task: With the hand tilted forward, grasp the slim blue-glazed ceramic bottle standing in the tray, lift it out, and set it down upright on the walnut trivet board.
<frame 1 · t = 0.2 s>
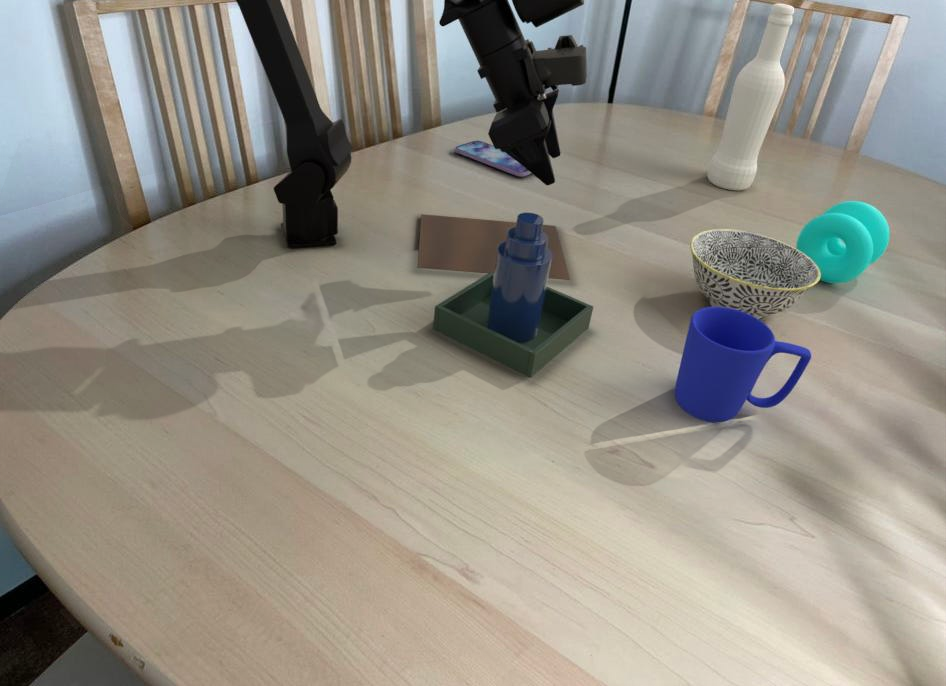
hand: (554, 169, 90), 15 cm above the table, tool tilted 35°, fingers open, 9 cm apart
mug: (722, 411, 79), on the table
bottle: (727, 183, 135), on the table
bowl: (736, 308, 97), on the table
tray: (511, 332, 87), on the table
turquoise yo-yo: (828, 273, 109), on the table
blue bottle: (512, 328, 86), point 1 cm above the table, touching tray
smartphone: (497, 161, 131), on the table
trivet: (491, 248, 103), on the table
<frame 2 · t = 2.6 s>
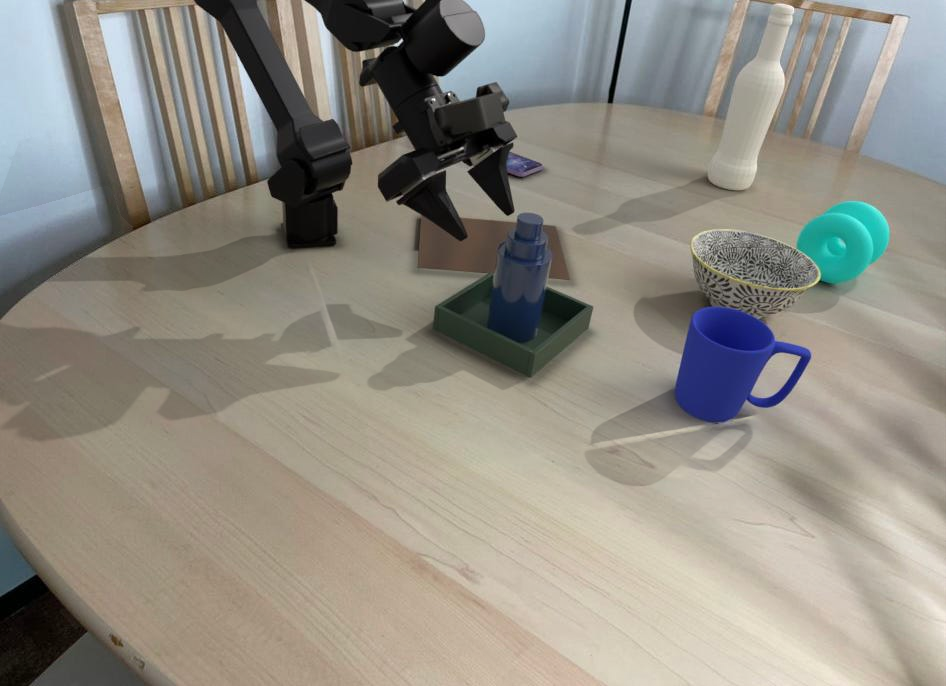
hand: (488, 226, 82), 12 cm above the table, tool tilted 45°, fingers open, 9 cm apart
nothing on the table moved.
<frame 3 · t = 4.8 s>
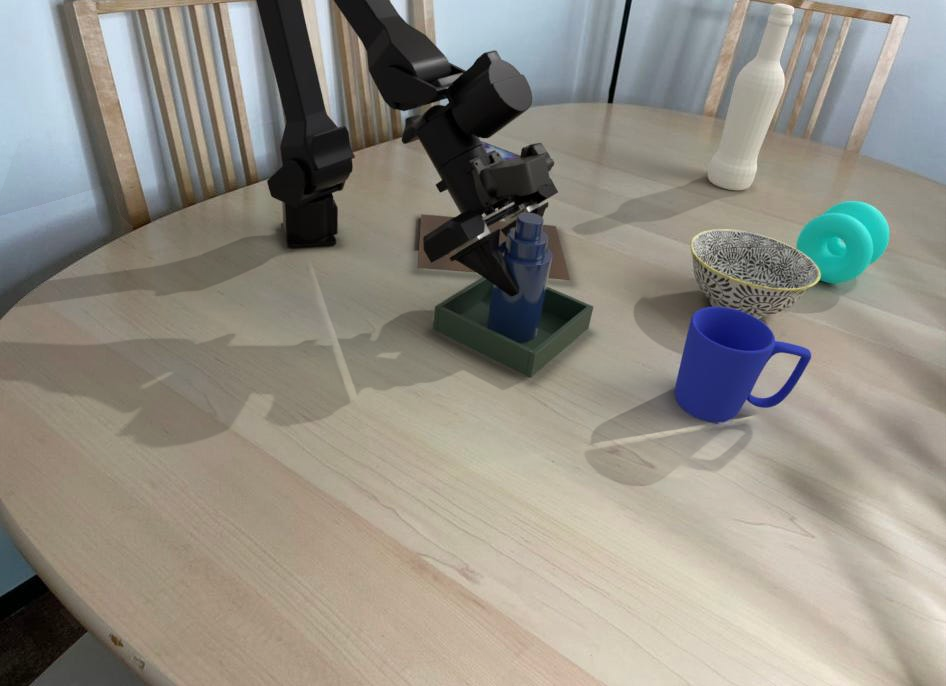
hand: (530, 284, 82), 7 cm above the table, tool tilted 45°, fingers closed on blue bottle, 6 cm apart
blue bottle: (512, 328, 86), point 1 cm above the table, touching tray, gripper
everything else where it was.
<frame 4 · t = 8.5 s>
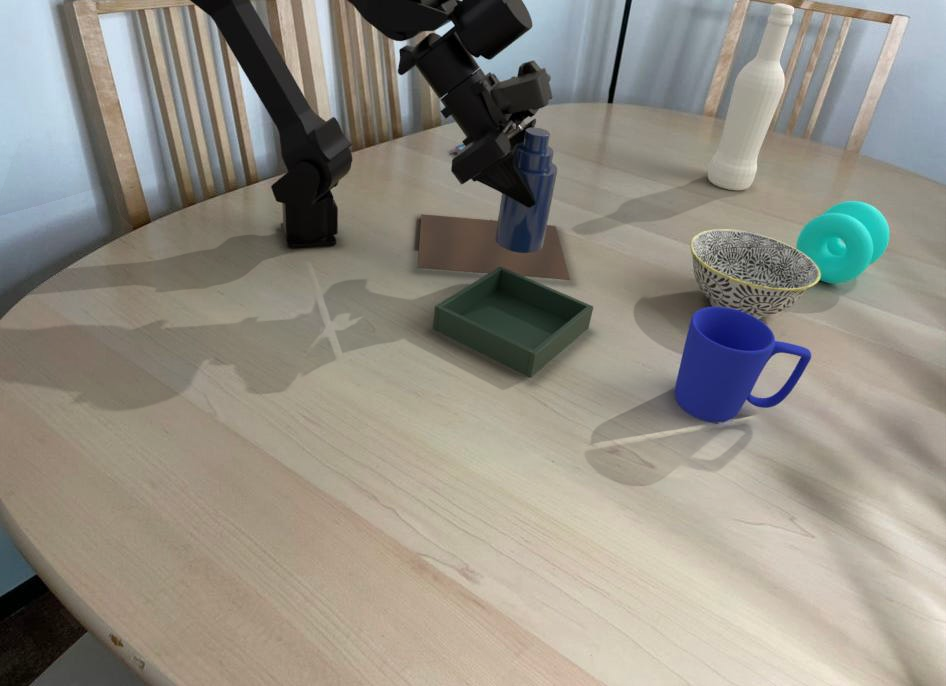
hand: (538, 195, 89), 13 cm above the table, tool tilted 45°, fingers closed on blue bottle, 6 cm apart
blue bottle: (519, 241, 92), point 6 cm above the table, touching gripper
everything else where it was.
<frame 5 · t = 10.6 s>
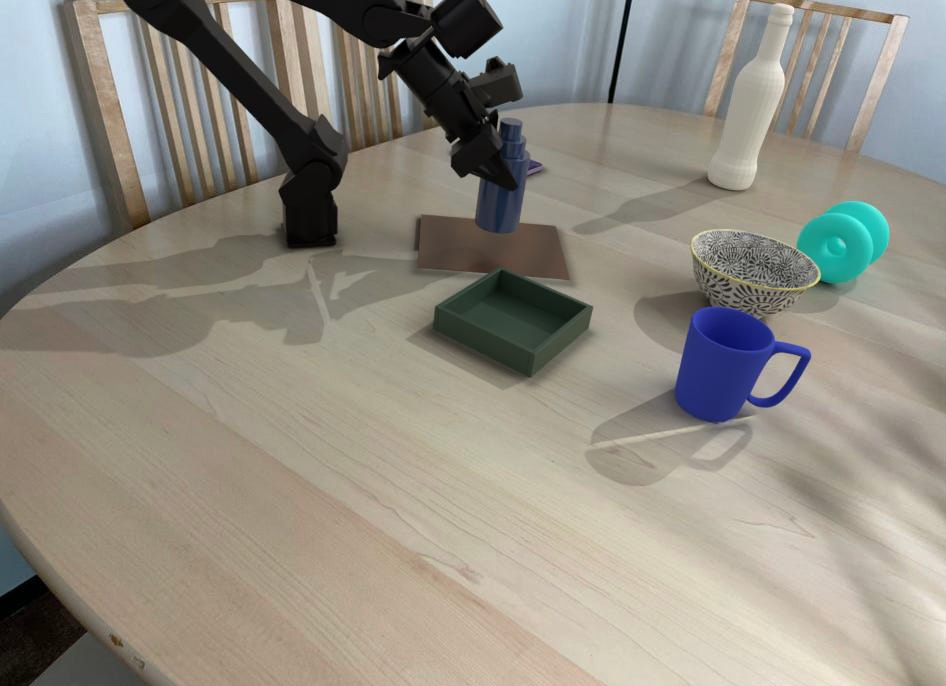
hand: (513, 179, 97), 11 cm above the table, tool tilted 45°, fingers closed on blue bottle, 6 cm apart
blue bottle: (496, 223, 100), point 4 cm above the table, touching gripper
everything else where it was.
when the fingers open (7 cm above the table, at t = 12.3 s): blue bottle stays where it is, resting on trivet.
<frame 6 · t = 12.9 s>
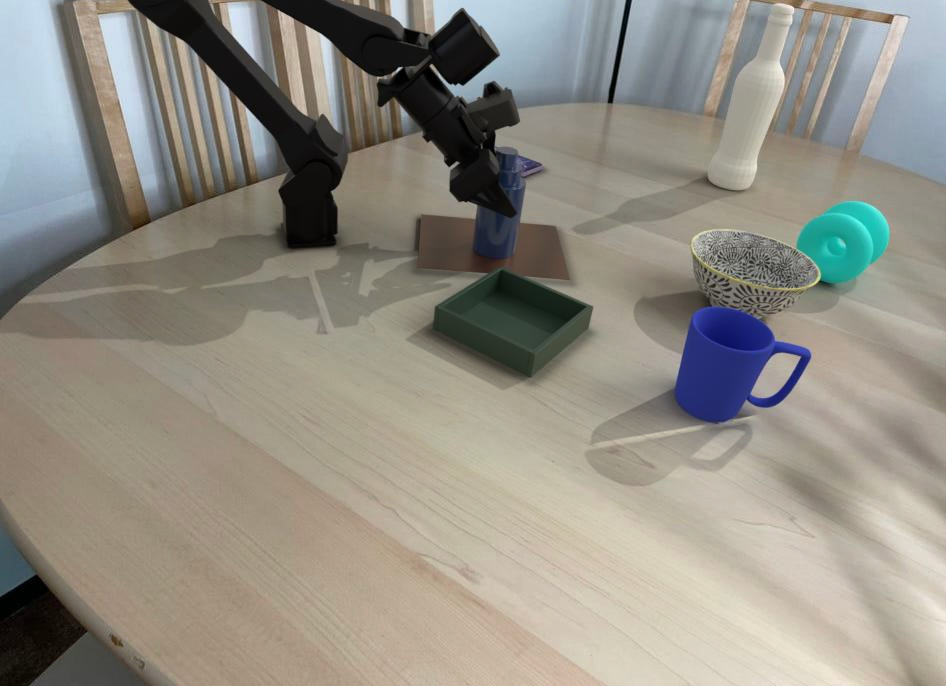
hand: (511, 200, 98), 8 cm above the table, tool tilted 45°, fingers open, 9 cm apart
blue bottle: (493, 248, 102), point 1 cm above the table, touching trivet
everything else where it was.
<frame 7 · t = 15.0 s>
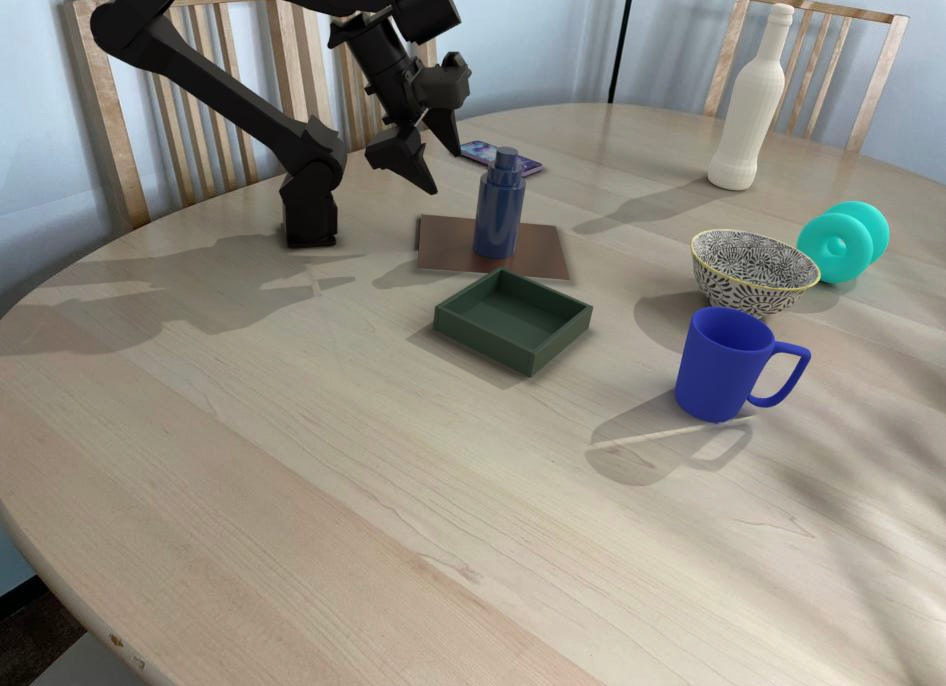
hand: (447, 174, 97), 10 cm above the table, tool tilted 35°, fingers open, 9 cm apart
nothing on the table moved.
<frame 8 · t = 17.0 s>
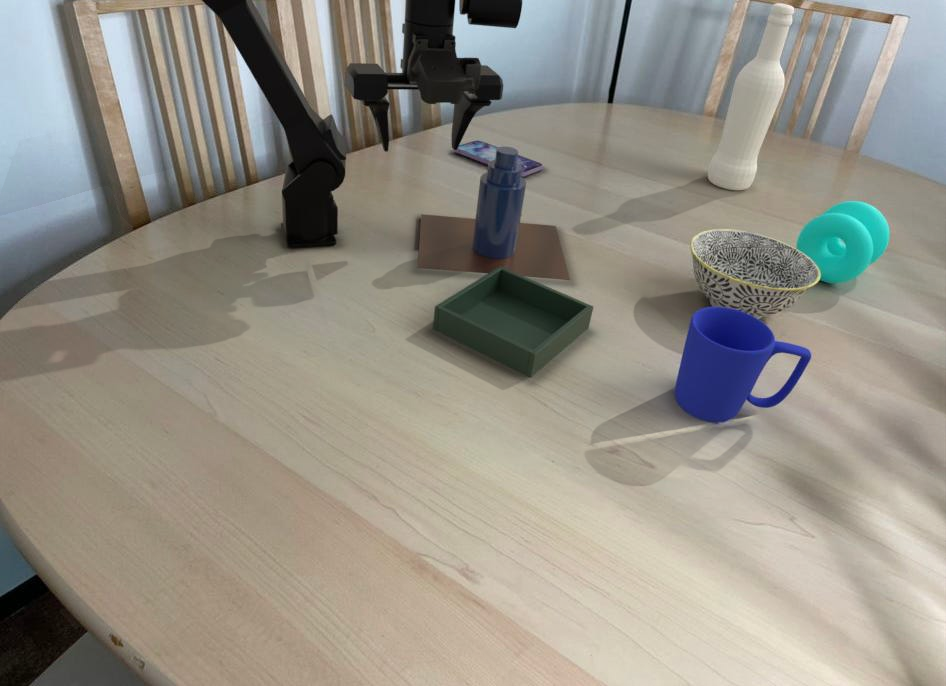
hand: (420, 149, 96), 13 cm above the table, tool pointing down, fingers open, 9 cm apart
nothing on the table moved.
at the end: blue bottle inside the target area on the trivet (1.0 cm from its centre), point 0.6 cm above the trivet's base; blue bottle tilted 0°; the gripper is holding nothing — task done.
